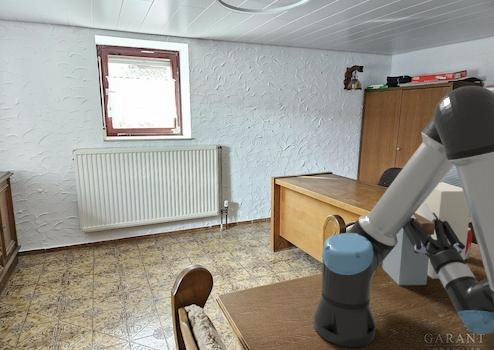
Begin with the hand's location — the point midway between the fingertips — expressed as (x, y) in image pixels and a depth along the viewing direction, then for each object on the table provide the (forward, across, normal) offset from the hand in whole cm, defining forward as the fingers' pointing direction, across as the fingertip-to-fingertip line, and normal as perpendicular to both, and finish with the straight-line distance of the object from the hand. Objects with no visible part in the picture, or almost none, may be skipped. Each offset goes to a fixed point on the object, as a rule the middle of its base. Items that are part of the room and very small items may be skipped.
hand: (414, 206), depth 100 cm
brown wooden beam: (-1, 0, -7) cm, 7 cm away
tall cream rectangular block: (-5, +14, -26) cm, 30 cm away
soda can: (+2, +29, -31) cm, 42 cm away
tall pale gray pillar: (-10, 0, -24) cm, 26 cm away
